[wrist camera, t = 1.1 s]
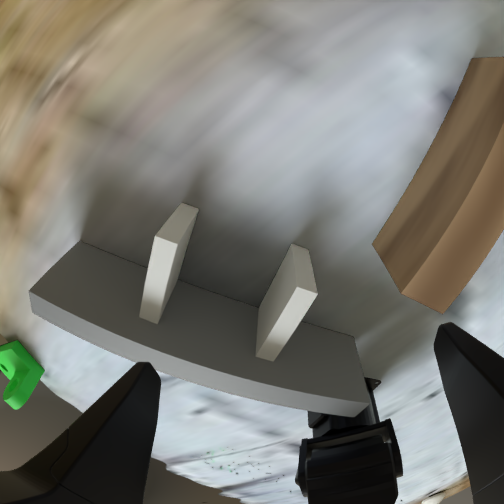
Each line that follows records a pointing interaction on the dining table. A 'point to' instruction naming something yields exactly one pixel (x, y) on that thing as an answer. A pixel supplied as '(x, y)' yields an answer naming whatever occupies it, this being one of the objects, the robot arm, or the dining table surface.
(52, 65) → the dining table surface
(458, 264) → the rail
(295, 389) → the slab with two fins
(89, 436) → the robot arm
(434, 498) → the flower in vase
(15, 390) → the mechanical part
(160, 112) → the dining table surface
